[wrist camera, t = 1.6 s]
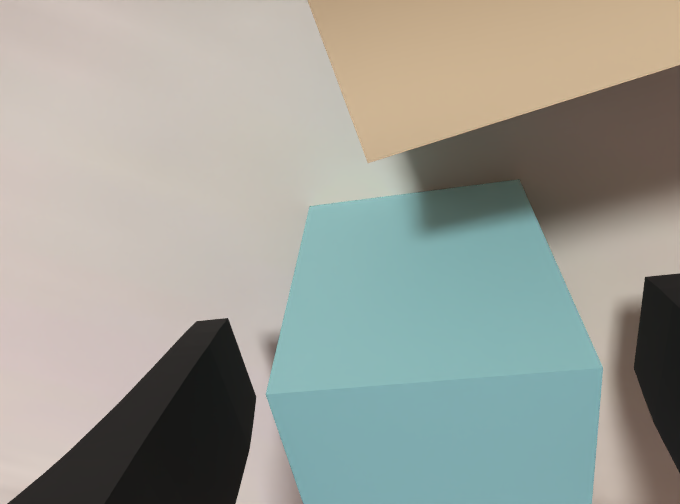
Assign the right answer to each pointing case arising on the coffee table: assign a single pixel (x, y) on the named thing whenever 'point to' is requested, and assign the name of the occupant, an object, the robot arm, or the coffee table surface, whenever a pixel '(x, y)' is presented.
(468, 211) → the teal block
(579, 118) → the coffee table surface
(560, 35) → the oak slab
